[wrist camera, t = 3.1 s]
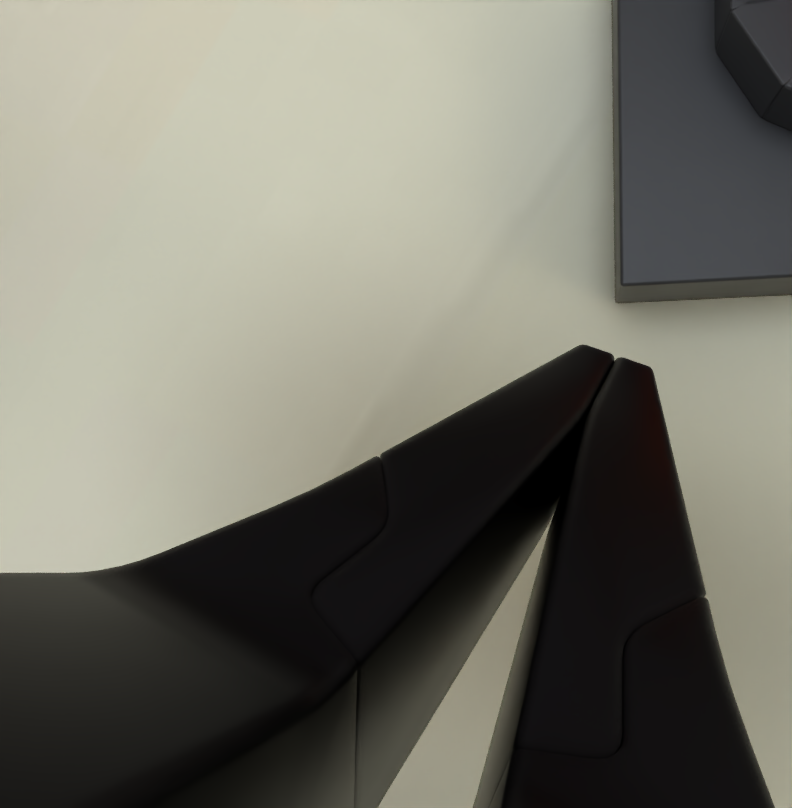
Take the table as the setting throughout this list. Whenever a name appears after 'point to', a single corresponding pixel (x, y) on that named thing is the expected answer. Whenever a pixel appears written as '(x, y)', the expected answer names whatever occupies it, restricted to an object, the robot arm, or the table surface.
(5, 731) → the robot arm
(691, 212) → the block
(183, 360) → the table surface
